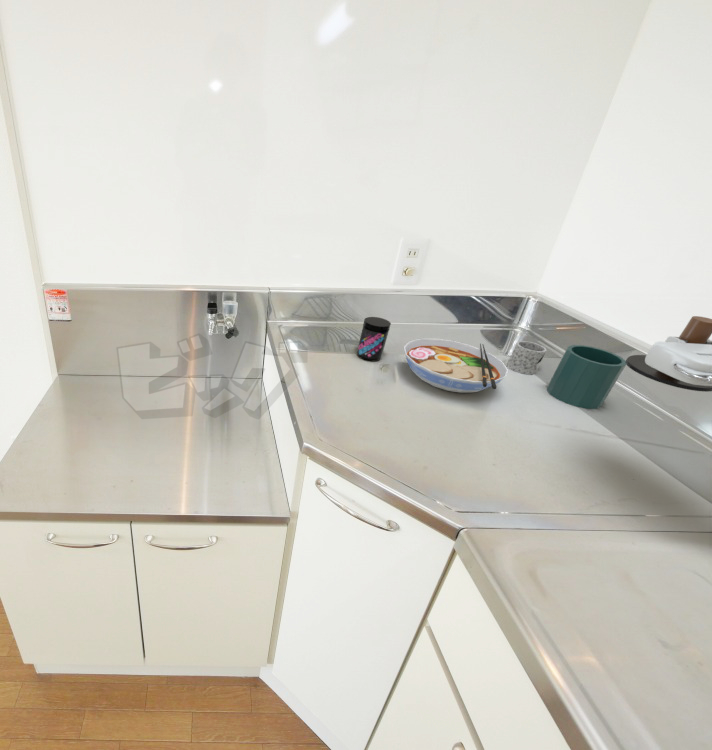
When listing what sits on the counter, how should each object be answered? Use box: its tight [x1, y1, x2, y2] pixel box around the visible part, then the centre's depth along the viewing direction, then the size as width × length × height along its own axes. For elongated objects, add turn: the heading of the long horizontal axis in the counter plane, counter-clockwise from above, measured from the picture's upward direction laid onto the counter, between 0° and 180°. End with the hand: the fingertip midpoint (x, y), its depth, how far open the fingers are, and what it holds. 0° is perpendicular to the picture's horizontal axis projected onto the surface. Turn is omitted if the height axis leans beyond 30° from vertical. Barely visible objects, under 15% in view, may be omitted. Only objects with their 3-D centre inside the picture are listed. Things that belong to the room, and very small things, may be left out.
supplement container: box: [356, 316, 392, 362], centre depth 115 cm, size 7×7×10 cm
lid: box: [625, 315, 712, 392], centre depth 68 cm, size 11×11×10 cm
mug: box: [506, 340, 547, 375], centre depth 114 cm, size 10×7×7 cm, turn 162°
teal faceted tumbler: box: [546, 344, 627, 410], centre depth 97 cm, size 10×10×12 cm
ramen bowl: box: [403, 337, 509, 394], centre depth 103 cm, size 25×23×8 cm
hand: (684, 341), depth 68 cm, fingers closed on lid, 3 cm apart
